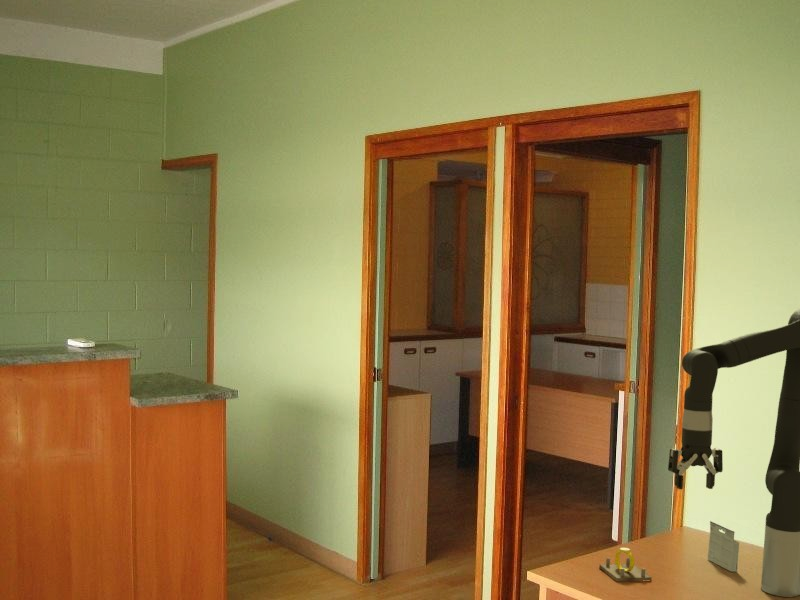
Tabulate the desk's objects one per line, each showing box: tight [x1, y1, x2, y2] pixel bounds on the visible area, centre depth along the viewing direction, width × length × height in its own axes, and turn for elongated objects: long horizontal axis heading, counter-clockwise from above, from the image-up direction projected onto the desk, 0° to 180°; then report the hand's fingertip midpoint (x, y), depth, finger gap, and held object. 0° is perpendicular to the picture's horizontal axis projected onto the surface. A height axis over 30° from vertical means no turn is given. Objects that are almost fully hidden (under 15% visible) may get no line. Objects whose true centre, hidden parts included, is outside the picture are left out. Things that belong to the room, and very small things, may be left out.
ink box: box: [707, 520, 740, 573], centre depth 266 cm, size 12×2×12 cm, turn 16°
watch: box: [614, 547, 635, 572], centre depth 253 cm, size 6×3×6 cm, turn 31°
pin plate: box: [598, 557, 653, 583], centre depth 253 cm, size 10×11×3 cm
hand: (694, 488), depth 243 cm, fingers open, 8 cm apart
